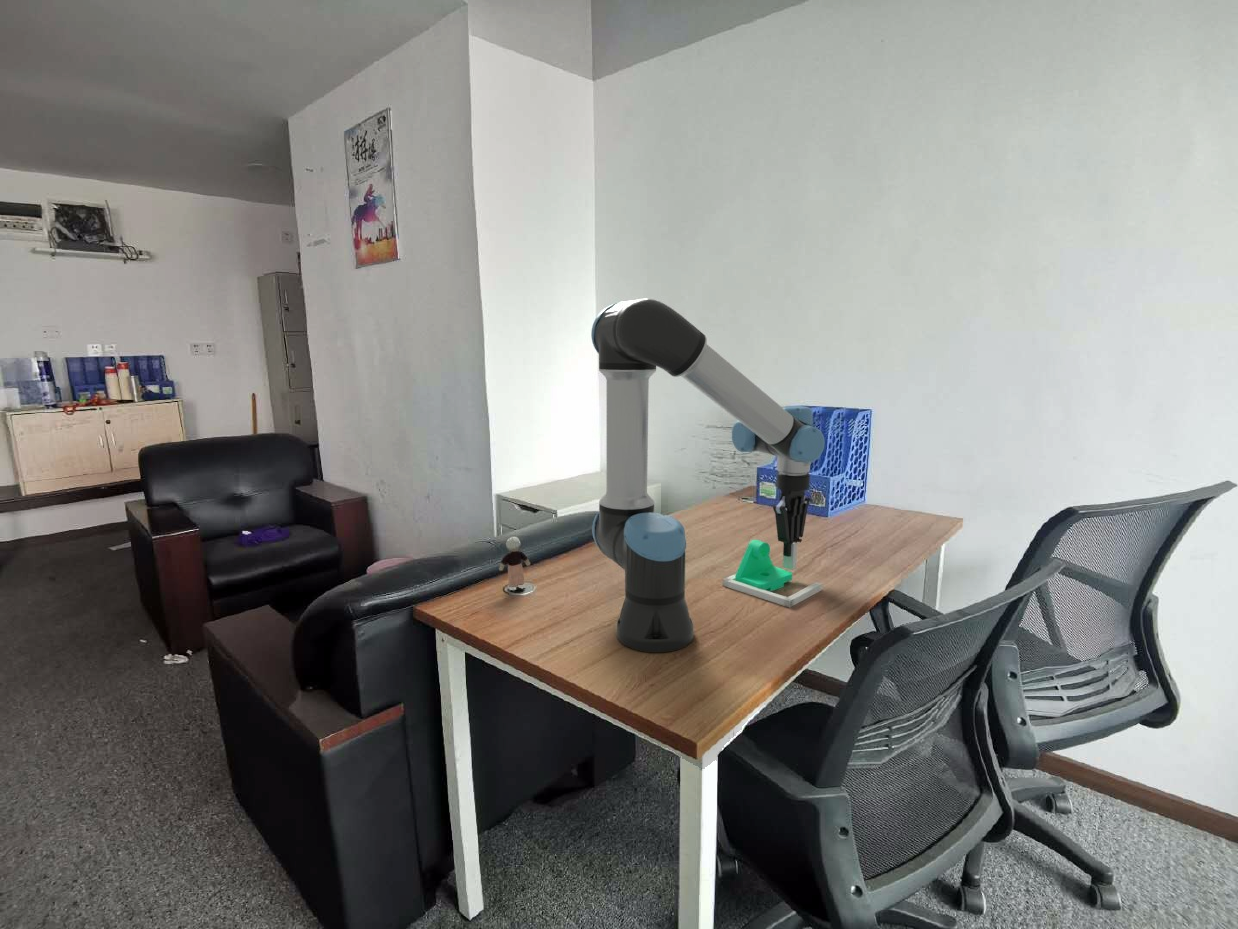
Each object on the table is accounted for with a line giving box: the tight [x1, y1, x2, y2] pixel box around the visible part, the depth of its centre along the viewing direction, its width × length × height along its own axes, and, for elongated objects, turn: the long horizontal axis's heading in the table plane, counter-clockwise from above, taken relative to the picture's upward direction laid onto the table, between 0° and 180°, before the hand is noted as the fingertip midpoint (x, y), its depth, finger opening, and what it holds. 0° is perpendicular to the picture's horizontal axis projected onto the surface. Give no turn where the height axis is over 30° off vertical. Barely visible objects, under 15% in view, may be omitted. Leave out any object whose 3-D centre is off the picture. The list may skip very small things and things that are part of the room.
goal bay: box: [721, 573, 823, 609], centre depth 147 cm, size 14×18×2 cm
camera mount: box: [735, 539, 793, 592], centre depth 148 cm, size 12×8×10 cm, turn 127°
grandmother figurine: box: [498, 536, 531, 588], centre depth 147 cm, size 8×4×13 cm, turn 134°
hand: (789, 567), depth 151 cm, fingers closed
